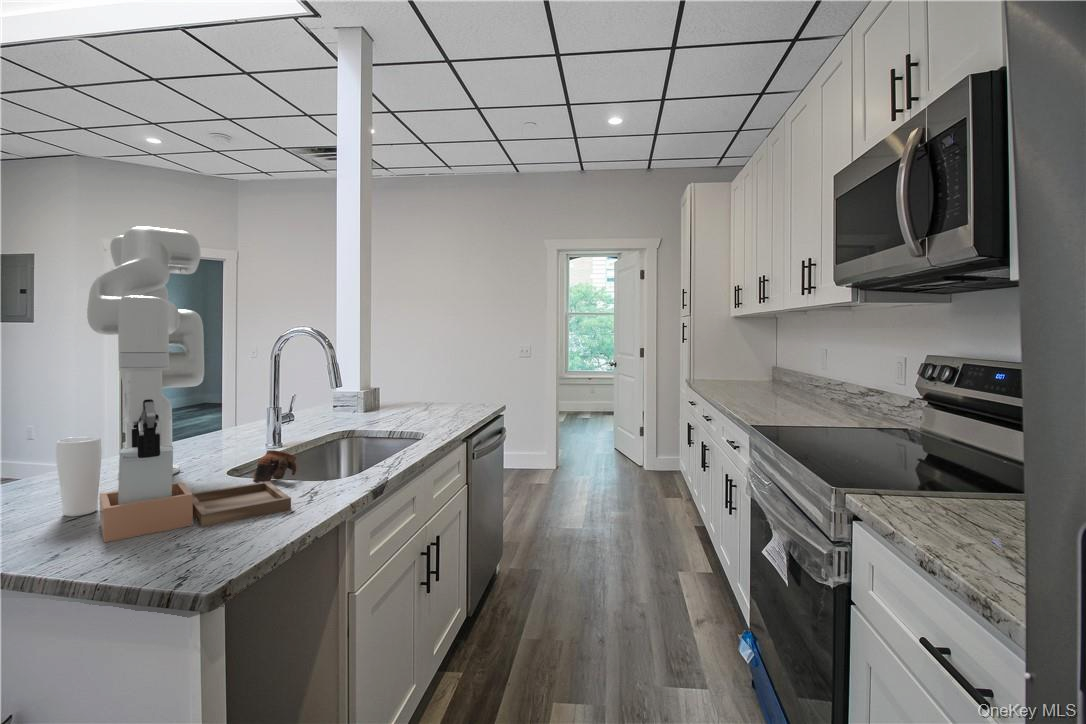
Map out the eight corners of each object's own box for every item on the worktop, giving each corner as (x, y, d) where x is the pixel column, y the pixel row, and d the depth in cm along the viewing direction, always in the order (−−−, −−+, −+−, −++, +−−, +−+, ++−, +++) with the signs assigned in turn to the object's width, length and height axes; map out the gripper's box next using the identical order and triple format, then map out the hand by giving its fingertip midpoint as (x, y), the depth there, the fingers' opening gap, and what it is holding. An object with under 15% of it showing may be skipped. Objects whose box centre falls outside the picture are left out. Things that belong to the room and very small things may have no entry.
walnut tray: (186, 505, 110) (186, 494, 110) (268, 491, 121) (268, 481, 121) (201, 527, 98) (201, 514, 98) (291, 509, 109) (291, 498, 109)
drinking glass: (75, 520, 100) (74, 443, 99) (48, 517, 102) (46, 441, 101) (111, 509, 107) (110, 437, 106) (85, 506, 108) (83, 435, 107)
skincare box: (117, 534, 94) (115, 453, 93) (119, 524, 99) (118, 447, 98) (173, 525, 99) (172, 448, 98) (173, 516, 104) (172, 443, 103)
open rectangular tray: (100, 524, 98) (99, 493, 98) (182, 510, 107) (182, 481, 107) (104, 542, 90) (103, 508, 90) (192, 525, 99) (192, 494, 99)
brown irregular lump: (244, 480, 131) (257, 449, 134) (281, 491, 136) (292, 461, 140) (261, 478, 123) (275, 445, 126) (299, 489, 128) (311, 457, 132)
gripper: (114, 361, 101) (116, 448, 101) (123, 364, 88) (124, 463, 89) (162, 360, 106) (163, 443, 106) (176, 363, 93) (177, 457, 94)
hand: (145, 452), depth 98 cm, fingers open, 9 cm apart
